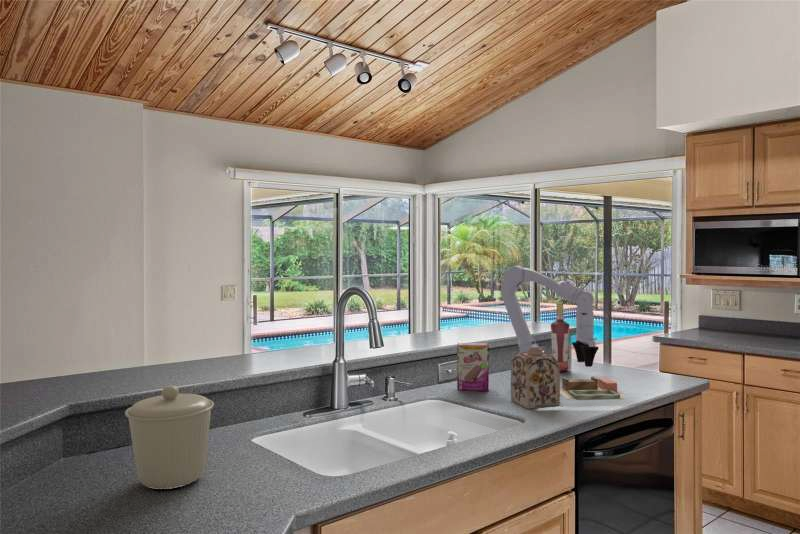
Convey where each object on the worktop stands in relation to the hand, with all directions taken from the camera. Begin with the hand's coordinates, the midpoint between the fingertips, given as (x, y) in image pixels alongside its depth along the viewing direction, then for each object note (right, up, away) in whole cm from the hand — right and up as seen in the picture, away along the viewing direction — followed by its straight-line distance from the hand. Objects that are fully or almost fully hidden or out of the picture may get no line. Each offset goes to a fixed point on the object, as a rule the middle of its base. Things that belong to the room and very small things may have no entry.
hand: (584, 364), depth 204 cm
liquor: (+1, -9, +35) cm, 36 cm away
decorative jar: (-21, -10, -15) cm, 28 cm away
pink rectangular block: (+7, -8, -2) cm, 11 cm away
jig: (-1, -10, -6) cm, 11 cm away
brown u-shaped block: (-2, -8, -2) cm, 9 cm away
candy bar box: (-38, -10, +5) cm, 40 cm away
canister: (-114, -13, -75) cm, 138 cm away
